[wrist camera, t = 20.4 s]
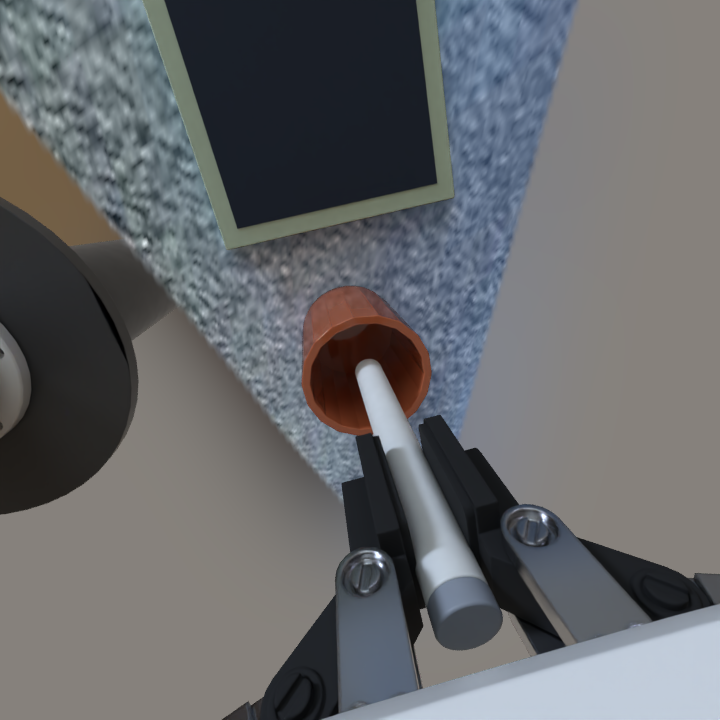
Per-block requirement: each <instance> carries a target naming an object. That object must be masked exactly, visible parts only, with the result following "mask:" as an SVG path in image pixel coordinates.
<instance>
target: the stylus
mask: <svg viewBox="0 0 720 720" xmlns="http://www.w3.org/2000/svg"><path fill="white" fill-rule="evenodd" d="M355 375H356V378H357V381H358V385H359V388H360V391H361V395H362V398H363V401H364V404H365V408H366V411H367V414H368V418H369V421H370V424H371V427H372V431H373V434H374V436H378V435H379V437H380V440H381V443H382V446H383V450H384V453H385V456H386V459H387V462H388V465H389V468H390V471H391V474H392V477H393V480H394V483H395V486H396V489H397V492H398V495H399V498H400V501H401V504H402V507H403V511H404V514H405V517H406V520H407V524H408V527H409V531H410V535H411V540H412V545H413V549H414V554H415V559H416V563H417V564H416V575H417V579H418V582H419V585H420V588H421V592H422V595H423V598H424V602H425V605H426V608H427V611H428V615H429V618H430V621H431V625H432V628H433V631H434V634H435V637H436V639H437V641H438V642H439V643H440V644H441V645H442V646H443V647H445V648H448V649H451V650H468V649H473V648H476V647H478V646H480V645H482V644H485V643H486V642H488V641H489V640H491V639H492V638H493V637H494V636H495V635H496V634H497V633H498V631H499V630H500V628H501V625H502V622H503V617H502V612H501V610H500V607H499V605H498V603H497V601H496V599H495V597H494V595H493V593H492V591H491V589H490V587H489V586H488V583H487V581H486V579H485V577H484V575H483V573H482V571H481V569H480V567H479V564H478V562H477V560H476V558H475V556H474V554H473V552H472V551H471V549H470V547H469V545H468V543H467V541H466V539H465V537H464V535H463V533H462V531H461V529H460V527H459V525H458V523H457V521H456V519H455V517H454V515H453V513H452V511H451V509H450V507H449V505H448V502H447V500H446V498H445V496H444V494H443V492H442V490H441V488H440V486H439V484H438V482H437V480H436V478H435V476H434V474H433V472H432V470H431V468H430V466H429V464H428V462H427V459H426V457H425V455H424V453H423V450H422V448H421V446H420V444H419V442H418V440H417V438H416V436H415V434H414V432H413V430H412V428H411V426H410V424H409V422H408V420H407V418H406V416H405V414H404V412H403V410H402V408H401V406H400V404H399V402H398V400H397V398H396V395H395V393H394V391H393V389H392V387H391V385H390V383H389V381H388V379H387V377H386V375H385V373H384V371H383V369H382V367H381V365H380V363H379V362H378V361H376V360H374V359H365V360H363V361H361V362H360V363H359V364H358V365H357V367H356V369H355Z"/></svg>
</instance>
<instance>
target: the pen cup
mask: <svg viewBox="0 0 720 720" xmlns="http://www.w3.org/2000/svg"><path fill="white" fill-rule="evenodd" d="M365 359H374V360H376V361H378V362H379V363H380V365H381V367H382V369H383V371H384V373H385V375H386V377H387V379H388V381H389V383H390V385H391V387H392V389H393V391H394V393H395V395H396V398H397V400H398V402H399V404H400V406H401V408H402V410H403V412H404V414H405V416H406V418H407V419H408V418H409V417H410V416H411V415H413V414H414V413H415V412H416V411H417V409H418V408H419V406H420V404H421V403H422V401H423V400H424V398H425V396H426V395H427V392H428V388H429V383H430V379H431V373H432V372H431V365H430V358H429V353H428V351H427V349H426V348H425V346H424V344H423V342H422V341H421V339H420V337H419V336H418V335H417V333H416V332H415V331H414V330H413V329H412V328H411V327H410V326H409V325H408V324H407V323H406V322H405V321H404V320H403V319H402V318H401V317H400V315H399V314H398V313H397V312H396V311H395V310H394V309H393V308H392V307H391V306H390V305H389V304H388V303H387V302H386V301H385V300H384V299H382V298H381V297H380V296H379V295H378V294H376V293H375V292H373V291H371V290H369V289H366V288H363V287H359V286H343V287H338V288H335V289H332V290H330V291H328V292H326V293H325V294H323V295H322V296H320V297H319V298H318V299H317V300H316V301H315V302H314V303H313V304H312V306H311V307H310V309H309V311H308V313H307V315H306V317H305V320H304V325H303V336H302V388H303V391H304V395H305V398H306V401H307V404H308V406H309V407H310V409H311V410H312V411H313V412H314V413H315V415H316V416H317V417H318V418H319V420H320V421H321V422H323V423H325V424H326V425H328V426H330V427H332V428H333V429H335V430H337V431H339V432H343V433H348V434H353V435H358V436H360V435H364V434H368V433H372V434H373V431H372V427H371V424H370V421H369V418H368V414H367V411H366V408H365V404H364V401H363V398H362V395H361V391H360V388H359V385H358V381H357V378H356V375H355V369H356V367H357V365H358V364H359V363H360V362H361V361H363V360H365Z"/></svg>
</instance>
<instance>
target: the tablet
mask: <svg viewBox="0 0 720 720" xmlns="http://www.w3.org/2000/svg"><path fill="white" fill-rule="evenodd" d="M142 1H143V4H144V7H145V10H146V13H147V16H148V19H149V22H150V25H151V28H152V31H153V34H154V37H155V40H156V43H157V46H158V49H159V52H160V54H161V57H162V60H163V63H164V66H165V69H166V72H167V75H168V78H169V81H170V84H171V87H172V90H173V93H174V96H175V99H176V102H177V105H178V108H179V111H180V114H181V117H182V120H183V123H184V125H185V128H186V131H187V134H188V137H189V140H190V143H191V146H192V149H193V152H194V155H195V158H196V161H197V164H198V167H199V170H200V173H201V176H202V179H203V182H204V185H205V188H206V191H207V194H208V196H209V199H210V202H211V205H212V208H213V211H214V214H215V217H216V220H217V223H218V226H219V229H220V232H221V235H222V238H223V241H224V244H225V247H226V249H227V250H230V249H235V248H239V247H243V246H248V245H252V244H256V243H261V242H265V241H269V240H274V239H278V238H282V237H287V236H291V235H295V234H300V233H304V232H308V231H313V230H317V229H321V228H326V227H330V226H334V225H339V224H343V223H347V222H352V221H356V220H360V219H365V218H369V217H373V216H378V215H382V214H386V213H391V212H395V211H399V210H404V209H408V208H412V207H417V206H421V205H425V204H430V203H434V202H438V201H443V200H447V199H451V198H454V187H453V177H452V167H451V157H450V148H449V138H448V128H447V118H446V108H445V98H444V89H443V79H442V69H441V59H440V49H439V40H438V30H437V20H436V10H435V0H142Z"/></svg>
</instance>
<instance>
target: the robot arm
mask: <svg viewBox="0 0 720 720" xmlns="http://www.w3.org/2000/svg"><path fill="white" fill-rule="evenodd" d="M30 395H31V377H30V372H29V369H28V365H27V362H26V359H25V357H24V355H23V353H22V351H21V349H20V348H19V346H18V344H17V342H16V341H15V339H14V338H13V337H12V336H11V334H10V333H9V332H8V331H7V329H6V328H5V327H4V326H3V325H2V324H1V323H0V438H2V437H3V436H4V435H5V434H7V433H8V432H9V431H11V430H12V429H13V428H14V427H15V426H16V425H17V424H18V422H19V421H20V420H21V419H22V418H23V416H24V414H25V412H26V409H27V407H28V405H29V401H30ZM419 432H420V438H421V444H422V449H423V453H424V455H425V457H426V459H427V462H428V464H429V466H430V468H431V470H432V472H433V474H434V476H435V478H436V480H437V482H438V484H439V486H440V488H441V490H442V492H443V494H444V496H445V498H446V500H447V502H448V505H449V507H450V509H451V511H452V513H453V515H454V517H455V519H456V521H457V523H458V525H459V527H460V529H461V531H462V533H463V535H464V537H465V539H466V541H467V543H468V545H469V547H470V549H471V551H472V552H473V554H474V556H475V558H476V560H477V562H478V564H479V567H480V569H481V571H482V573H483V575H484V577H485V579H486V581H487V583H488V586H489V587H490V589H491V591H492V593H493V595H494V597H495V599H496V601H497V603H498V605H499V607H500V608H501V609H503V610H505V611H507V612H508V615H509V617H510V619H511V622H512V624H513V626H514V627H515V629H516V631H517V633H518V635H519V636H520V638H521V640H522V642H523V644H524V645H525V647H526V649H527V651H528V653H529V654H530V656H531V657H529V658H525V659H522V660H519V661H515V662H512V663H508V664H505V665H501V666H498V667H495V668H491V669H488V670H484V671H481V672H478V673H474V674H470V675H467V676H464V677H460V678H457V679H453V680H450V681H447V682H443V683H440V684H437V685H433V686H430V687H427V688H423V686H422V681H421V676H420V671H419V666H418V661H417V657H416V652H415V647H414V643H415V641H416V639H417V637H418V635H419V634H420V632H421V630H422V628H423V622H422V618H421V613H420V609H423V608H426V606H425V602H424V598H423V595H422V592H421V588H420V585H419V582H418V579H417V575H416V564H417V563H416V559H415V554H414V549H413V545H412V540H411V535H410V531H409V527H408V524H407V520H406V517H405V514H404V511H403V507H402V504H401V501H400V498H399V495H398V492H397V489H396V486H395V483H394V480H393V477H392V474H391V471H390V468H389V465H388V462H387V459H386V456H385V453H384V450H383V446H382V443H381V440H380V437H379V435H378V436H374V437H373V436H372V433H368V434H364V435H360V436H356V442H357V447H358V451H359V456H360V460H361V465H362V469H363V474H364V477H362V478H359V479H355V480H351V481H347V482H343V483H342V492H343V499H344V507H345V515H346V523H347V530H348V538H349V545H350V553H349V554H348V555H347V556H346V557H345V558H344V559H343V560H342V561H341V562H340V564H339V566H338V568H337V571H336V577H335V589H336V595H335V596H334V597H333V599H332V600H331V601H330V603H329V604H328V605H327V607H326V608H325V609H324V611H323V612H322V614H321V615H320V616H319V618H318V619H317V620H316V622H315V623H314V624H313V626H312V627H311V628H310V630H309V631H308V632H307V634H306V635H305V636H304V638H303V639H302V640H301V642H300V643H299V644H298V646H297V647H296V649H295V650H294V651H293V652H292V654H291V655H290V656H289V658H288V659H287V661H286V662H285V663H284V665H283V666H282V667H281V669H280V670H279V671H278V673H277V674H276V675H275V677H274V678H273V679H272V681H271V683H270V685H269V686H268V688H267V690H266V692H265V695H264V697H263V698H262V699H260V700H258V701H257V702H255V703H254V704H253V705H250V703H249V702H247V703H245V704H244V705H242V706H241V707H239V708H238V709H237V710H235V711H233V712H232V713H231V714H229V715H228V716H226V717H225V718H223V719H222V720H720V574H701V573H695V575H694V578H686V577H685V576H683V575H682V574H680V573H679V572H676V571H674V570H672V569H669V568H667V567H665V566H662V565H658V564H656V563H653V562H650V561H646V560H643V559H641V558H637V557H635V556H632V555H629V554H625V553H622V552H620V551H616V550H614V549H610V548H608V547H605V546H602V545H599V544H596V543H593V542H589V541H586V540H584V539H580V538H578V537H576V536H575V535H574V534H573V533H572V532H571V531H570V530H569V528H568V527H567V526H566V525H565V524H564V523H563V522H562V521H561V520H560V518H558V517H557V516H556V515H555V514H554V513H552V512H551V511H549V510H547V509H545V508H543V507H540V506H536V505H530V504H522V505H519V504H518V503H517V501H516V500H515V499H514V497H513V496H512V494H511V493H510V492H509V490H508V489H507V488H506V486H505V485H504V484H503V482H502V481H501V479H500V478H499V477H498V475H497V474H496V473H495V471H494V470H493V468H492V467H491V466H490V464H489V463H488V462H487V460H486V459H485V457H484V456H483V455H482V453H481V452H480V451H479V450H478V449H477V448H473V449H469V450H465V451H464V449H463V448H462V446H461V445H460V443H459V442H458V440H457V439H456V437H455V436H454V434H453V433H452V431H451V430H450V428H449V427H448V425H447V424H446V422H445V421H444V419H443V418H442V416H441V415H437V416H433V417H430V418H426V419H424V424H420V425H419Z"/></svg>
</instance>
